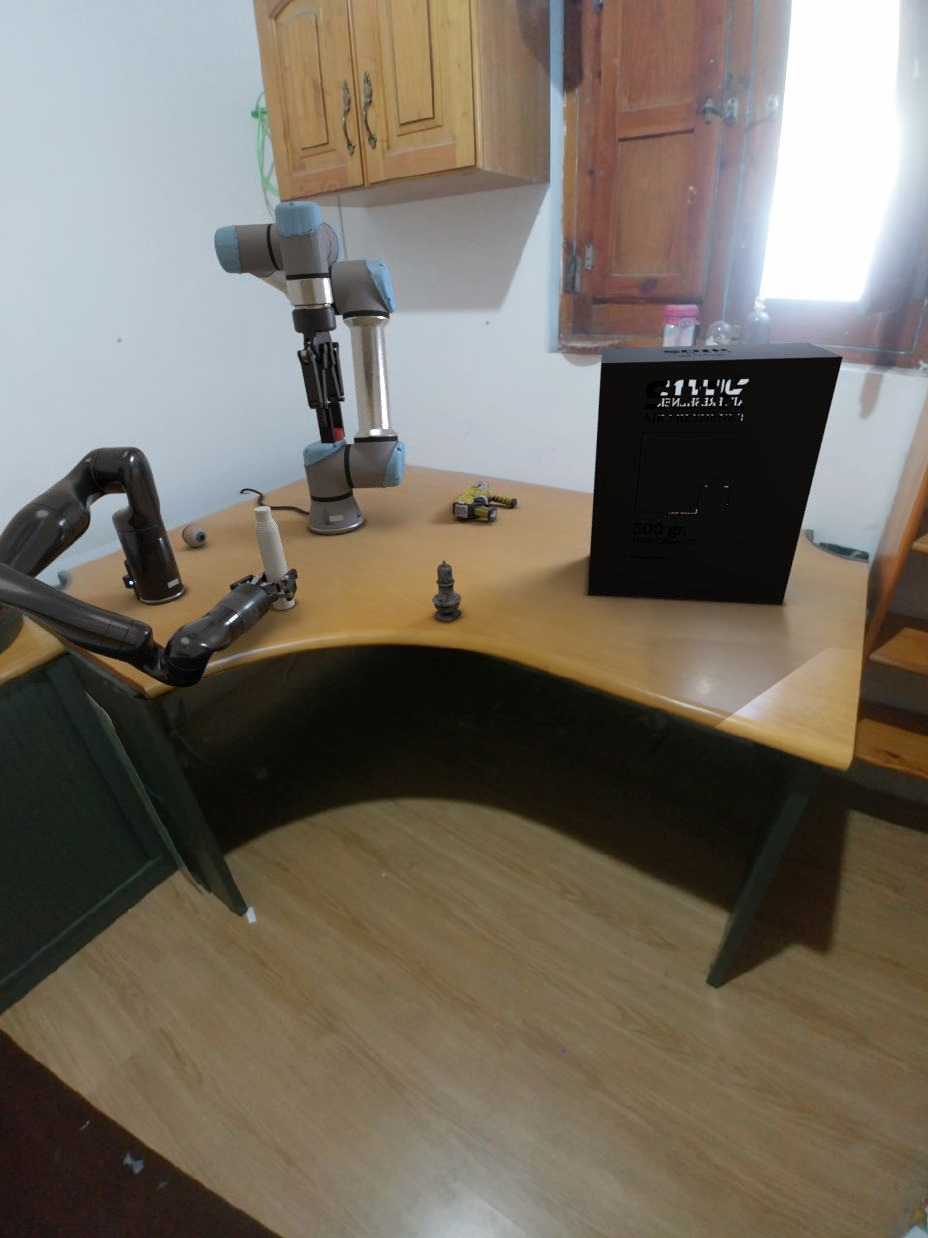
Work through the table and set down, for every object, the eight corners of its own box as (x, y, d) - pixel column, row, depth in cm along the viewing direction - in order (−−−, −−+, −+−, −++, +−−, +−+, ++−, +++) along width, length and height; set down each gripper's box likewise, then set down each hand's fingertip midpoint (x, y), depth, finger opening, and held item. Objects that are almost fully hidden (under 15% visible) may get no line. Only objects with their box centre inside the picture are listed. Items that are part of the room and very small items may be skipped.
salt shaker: (459, 622, 119) (455, 567, 113) (430, 620, 120) (425, 566, 114) (464, 608, 124) (461, 554, 118) (437, 606, 125) (432, 553, 119)
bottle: (292, 609, 128) (271, 511, 117) (271, 610, 127) (248, 513, 117) (296, 599, 131) (275, 503, 121) (275, 601, 131) (253, 505, 120)
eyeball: (196, 552, 157) (189, 530, 154) (181, 548, 160) (174, 526, 157) (215, 543, 161) (209, 522, 158) (200, 540, 165) (193, 519, 162)
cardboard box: (760, 561, 136) (807, 342, 113) (782, 604, 118) (842, 356, 96) (590, 554, 143) (602, 348, 121) (587, 594, 126) (601, 362, 104)
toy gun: (525, 486, 181) (478, 479, 184) (503, 510, 160) (450, 501, 164) (523, 501, 183) (477, 494, 187) (501, 526, 163) (450, 518, 167)
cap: (346, 436, 121) (344, 427, 120) (340, 441, 117) (339, 432, 116) (326, 437, 121) (324, 427, 120) (320, 442, 117) (318, 432, 116)
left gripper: (212, 624, 118) (258, 585, 132) (278, 630, 114) (317, 589, 129) (202, 590, 114) (250, 553, 128) (269, 595, 111) (311, 557, 125)
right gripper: (313, 304, 115) (333, 429, 127) (270, 311, 101) (296, 451, 113) (350, 302, 114) (366, 429, 125) (311, 309, 99) (334, 451, 111)
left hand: (284, 571), depth 128 cm, fingers closed on bottle, 4 cm apart
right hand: (333, 439), depth 119 cm, fingers closed on cap, 4 cm apart
